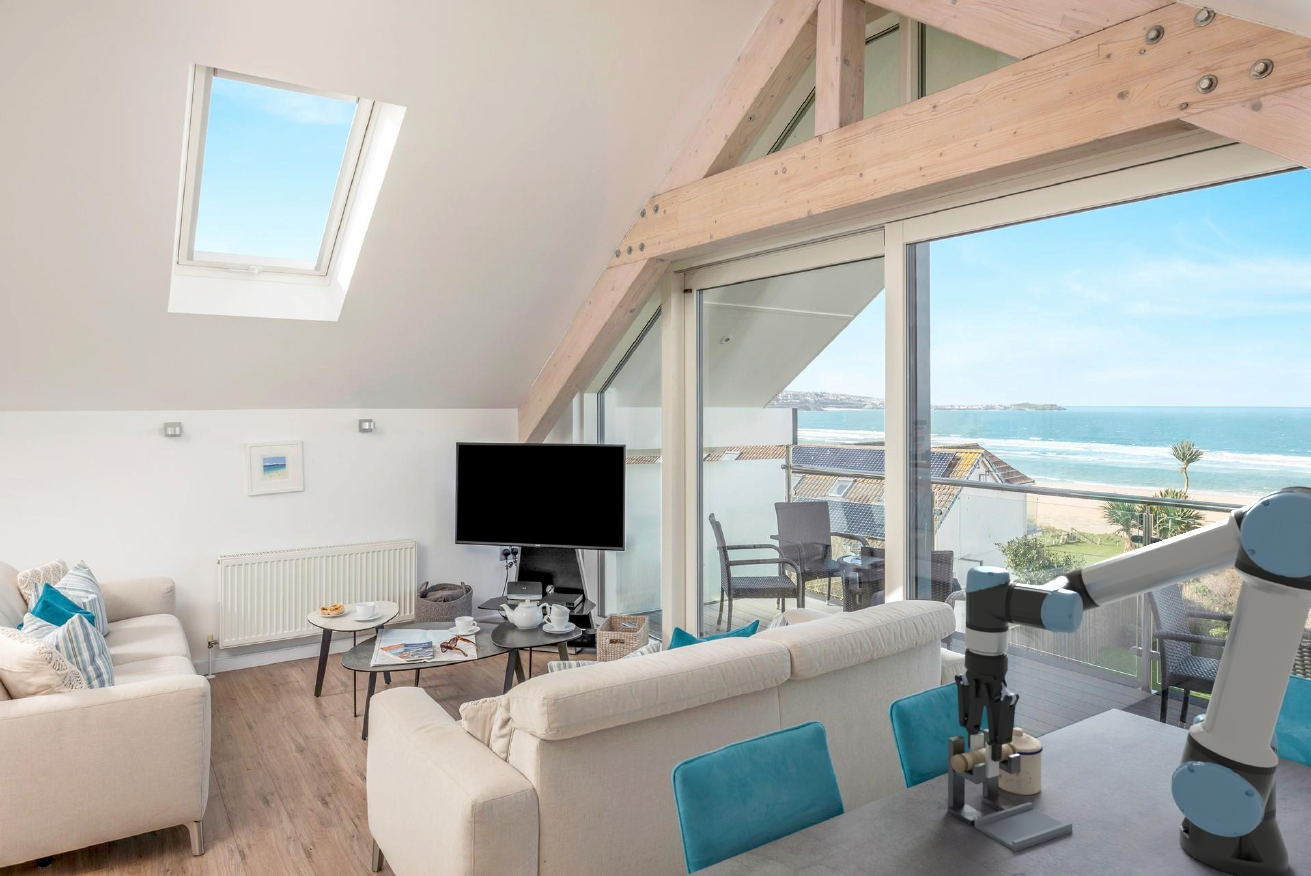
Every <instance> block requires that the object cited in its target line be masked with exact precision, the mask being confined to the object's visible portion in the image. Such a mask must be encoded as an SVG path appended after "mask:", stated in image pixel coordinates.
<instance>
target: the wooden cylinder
mask: <svg viewBox="0 0 1311 876" xmlns="http://www.w3.org/2000/svg"><path fill="white" fill-rule="evenodd" d="M1013 754H1017V748H1016V746H1015V745H1014V744H1013V743H1012V742H1011V743H1007V744H1003V745H1002V759H1001V760H1000V761H999V762H1001V761H1004V760H1008V756H1010V755H1013ZM985 758H986V747H985V748H982V749H978V750H974V751H970V750H969V751H967V752H966V751H965V753H962V754H956V755H954V756H953V757H952V758H951V764H952V767H953V769H954V770H955V771H956V772H958V773H961V772H964V771H968V770H972V769H973V765H976V764H980V763H984V764H985V762H986V760H985Z"/></svg>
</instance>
